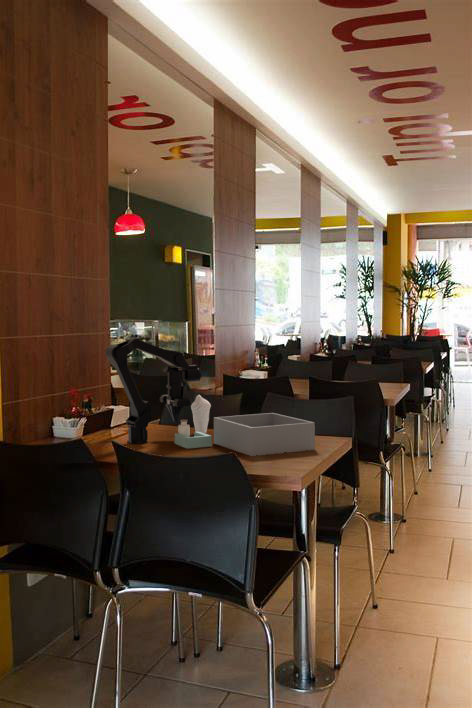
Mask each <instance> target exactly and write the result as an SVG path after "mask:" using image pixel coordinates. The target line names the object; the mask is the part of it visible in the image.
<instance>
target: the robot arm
mask: <svg viewBox="0 0 472 708" xmlns="http://www.w3.org/2000/svg"><path fill="white" fill-rule="evenodd" d="M135 350H137V351H139V352H143V353H144V354H148V355H150V356H152V357H156V358H158V359H159V360H161V361H162V362H163V363H165V364H167V365H166V366H165V367H164V368H163V369H162V372H164V373H167V384H166V385H165V387H166V389H167V394H161V395H160V397H159V402H160V403H165V402H166V404H165V407H166V408H167V410H168V412H169V414H170V417H171V419H172V421H173V422H174V423H178V421H179V417H180V413H181V411H182V409H183V408H184V407H191V406H192V403H193V402H192V401H195V400H196V397H197V392H195V391H191V390H190V388H187V387H186V386H185V385H183V382H184V383H195V382H200V380H201V378H202V373H201V370H200V368H199V365H198V364H191V365H190V364H188V362H187V360H186V359H185V356H184V353H183V352H181V351H177V350H170V349H167V348H166V349H165V348H162V347H159V346H157V345H154V344H152V343H149V342H146V341H144V340H142V339H139V338H138V337H131V338H129V339H127V340H124V341H123V342H120V343H117V344H116V345H115V344H114V345H113V344H111V345H109V346H108V347H107V348H106V349H105V352H104V354H105V357H106V359H107V360H108V362H109V363H110V364H111V366H113V368H114V369H115V370H116V373H117V375H118V377H119V380H120V381H121V384H122V387H123V388H124V391H125V393H126V396H127V398H128V401H129V406H130V407H129V411H130V415H129V416H128V417H127V419H126V420H125V422H126V426H127V427H128V428H127V429H128V430H127V434H128V440H126V442H127V443H129V444H132V445H136V444H137V445H138V444H146V443H149V441H148V440H149V439H148V437H149V436H148V435H149V434H148V433H149V432H148V429H147V428H148V426H149V423H150V422H151V420H152V417H153V411H154V410H153V409H152V408H151V404H150V402H149V401H148V400H147V401H146V400H143V399H142V396H141V395H140V392H139V390H138V387H137V384H136V382H135V380H134V378H133V375H132V373H131V371H130V368H129V365H128V364H129V363H128V361H129V360H128V355H130V354H131V353H133V352H134V351H135ZM171 366H173V367H171Z"/></svg>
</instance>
